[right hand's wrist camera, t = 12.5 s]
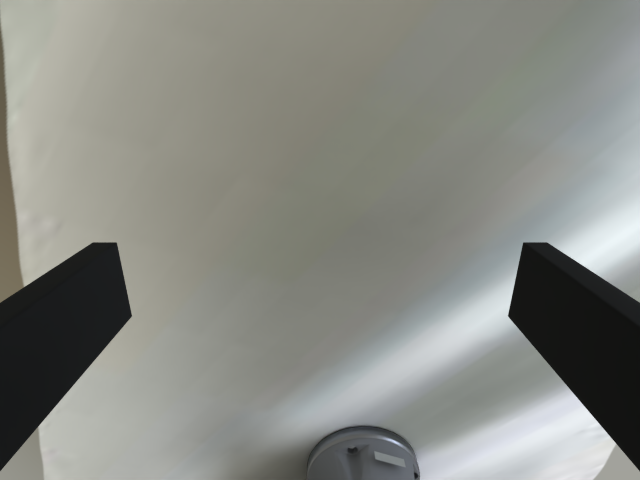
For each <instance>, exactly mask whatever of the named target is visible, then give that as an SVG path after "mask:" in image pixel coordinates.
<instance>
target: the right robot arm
mask: <svg viewBox="0 0 640 480" xmlns="http://www.w3.org/2000/svg"><path fill="white" fill-rule="evenodd" d="M131 317H132V314H131V309H130V305H129V300H128V295H127V290H126V285H125V280H124V276H123V271H122V266H121V261H120V256H119V251H118V246H117V243H92V244H90V245H88V246H87V247H85V248H84V249H82V250H81V251H79V252H78V253H76V254H75V255H73V256H72V257H70V258H68V259H67V260H65V261H64V262H62V263H61V264H59V265H58V266H56V267H55V268H53V269H52V270H50V271H48V272H47V273H45V274H44V275H42V276H41V277H39V278H38V279H36V280H35V281H33V282H32V283H30V284H29V285H27V286H25V287H24V288H22V289H21V290H19V291H18V292H16V293H15V294H13V295H12V296H10V297H9V298H7V299H6V300H4V301H2V302H1V303H0V471H1V470H2V468H3V467H4V466H5V465H6V464H7V462H8V461H9V460H10V459H11V458H12V457H13V455H14V454H15V453H16V452H17V451H18V450H19V448H20V447H21V446H22V445H23V444H24V443H25V441H26V440H27V439H28V438H29V437H30V435H31V434H32V433H33V432H34V431H35V430H36V428H37V427H38V426H39V425H40V424H41V423H42V421H43V420H44V419H45V418H46V417H47V415H48V414H49V413H50V412H51V411H52V410H53V408H54V407H55V406H56V405H57V404H58V403H59V401H60V400H61V399H62V398H63V397H64V395H65V394H66V393H67V392H68V391H69V390H70V388H71V387H72V386H73V385H74V384H75V383H76V381H77V380H78V379H79V378H80V377H81V375H82V374H83V373H84V372H85V371H86V370H87V368H88V367H89V366H90V365H91V364H92V363H93V361H94V360H95V359H96V358H97V357H98V355H99V354H100V353H101V352H102V351H103V350H104V348H105V347H106V346H107V345H108V344H109V343H110V341H111V340H112V339H113V338H114V337H115V335H116V334H117V333H118V332H119V331H120V330H121V328H122V327H123V326H124V325H125V324H126V322H127V321H128V320H129V319H130V318H131ZM508 317H509V318H510V319H511V320H512V321H513V323H514V324H515V325H516V326H517V327H518V328H519V330H520V331H521V332H522V333H523V334H524V335H525V337H526V338H527V339H528V340H529V341H530V343H531V344H532V345H533V346H534V347H535V348H536V350H537V351H538V352H539V353H540V354H541V355H542V357H543V358H544V359H545V360H546V361H547V363H548V364H549V365H550V366H551V367H552V368H553V370H554V371H555V372H556V373H557V374H558V375H559V377H560V378H561V379H562V380H563V381H564V383H565V384H566V385H567V386H568V387H569V388H570V390H571V391H572V392H573V393H574V394H575V395H576V397H577V398H578V399H579V400H580V401H581V403H582V404H583V405H584V406H585V407H586V408H587V410H588V411H589V412H590V413H591V414H592V415H593V417H594V418H595V419H596V420H597V421H598V423H599V424H600V425H601V426H602V427H603V428H604V430H605V431H606V432H607V433H608V434H609V435H610V437H611V438H612V439H613V440H614V441H615V443H616V444H617V445H618V446H619V447H620V448H621V450H622V451H623V452H624V453H625V454H626V455H627V457H628V458H629V459H630V460H631V461H632V463H633V464H634V465H635V466H636V467H637V468H638V470H639V471H640V303H639V302H638V301H636V300H635V299H633V298H631V297H630V296H628V295H627V294H625V293H624V292H622V291H621V290H619V289H618V288H616V287H615V286H613V285H611V284H610V283H608V282H607V281H605V280H604V279H602V278H601V277H599V276H598V275H596V274H595V273H593V272H592V271H590V270H588V269H587V268H585V267H584V266H582V265H581V264H579V263H578V262H576V261H575V260H573V259H572V258H570V257H568V256H567V255H565V254H564V253H562V252H561V251H559V250H558V249H556V248H555V247H553V246H552V245H550V244H548V243H523V246H522V251H521V256H520V261H519V266H518V271H517V276H516V280H515V285H514V290H513V295H512V300H511V305H510V309H509V314H508ZM307 480H420V472H419V467H418V463H417V459H416V456H415V453H414V451H413V449H412V448H411V446H410V445H409V444H408V443H407V442H406V441H405V440H404V439H403V438H401V437H400V436H398V435H396V434H394V433H392V432H390V431H387V430H384V429H380V428H374V427H354V428H348V429H344V430H341V431H338V432H336V433H333V434H331V435H329V436H328V437H326V438H325V439H323V440H322V441H321V442H320V443H319V444H318V445H317V446H316V447H315V448H314V449H313V451H312V453H311V454H310V457H309V459H308V465H307Z"/></svg>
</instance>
